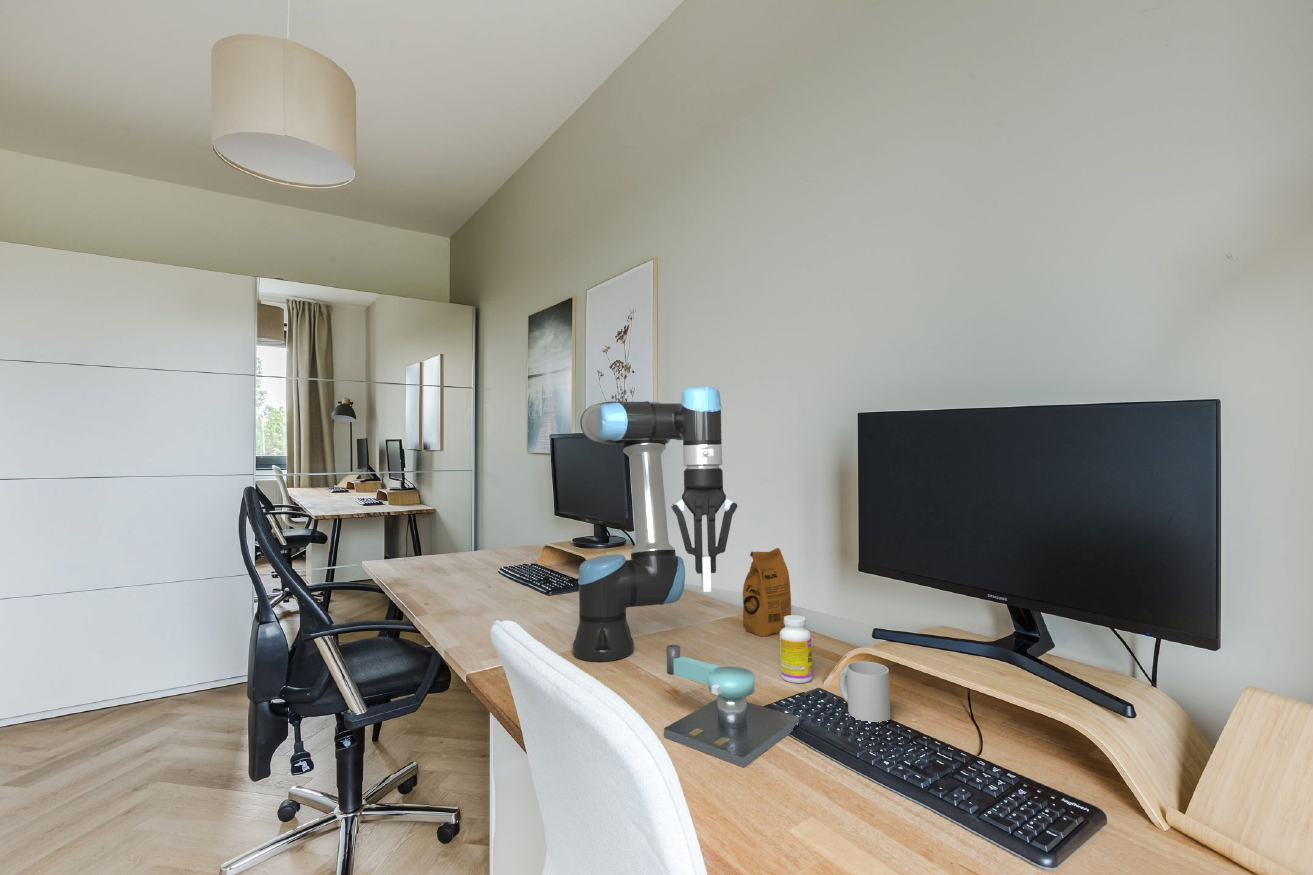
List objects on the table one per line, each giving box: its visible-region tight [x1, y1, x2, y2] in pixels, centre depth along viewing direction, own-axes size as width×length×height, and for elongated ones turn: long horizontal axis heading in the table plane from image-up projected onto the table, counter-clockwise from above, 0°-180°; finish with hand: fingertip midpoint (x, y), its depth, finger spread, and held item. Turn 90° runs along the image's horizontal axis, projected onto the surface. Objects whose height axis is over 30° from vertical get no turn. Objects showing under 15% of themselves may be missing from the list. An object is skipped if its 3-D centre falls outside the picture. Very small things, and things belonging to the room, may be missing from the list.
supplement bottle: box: [779, 614, 813, 684], centre depth 126 cm, size 7×7×13 cm
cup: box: [838, 660, 891, 723], centre depth 107 cm, size 7×10×9 cm
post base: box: [663, 696, 800, 768], centre depth 102 cm, size 16×18×7 cm
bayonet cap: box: [665, 644, 756, 698], centre depth 106 cm, size 18×10×5 cm, turn 49°
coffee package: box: [742, 547, 792, 638], centre depth 162 cm, size 10×12×22 cm
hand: (706, 590), depth 113 cm, fingers closed
